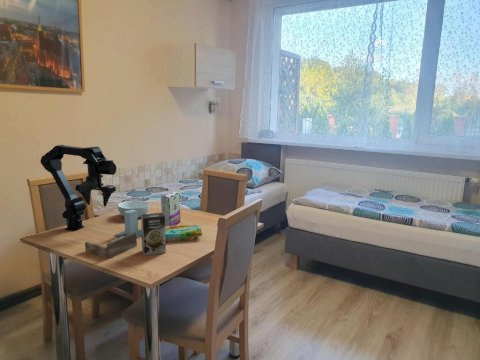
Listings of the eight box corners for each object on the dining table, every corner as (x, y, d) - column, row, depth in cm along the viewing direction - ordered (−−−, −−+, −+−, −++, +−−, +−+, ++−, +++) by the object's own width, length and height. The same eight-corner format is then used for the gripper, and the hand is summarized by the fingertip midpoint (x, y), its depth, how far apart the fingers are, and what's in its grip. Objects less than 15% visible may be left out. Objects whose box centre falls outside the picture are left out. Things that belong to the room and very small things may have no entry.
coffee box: (144, 256, 146) (142, 218, 142) (141, 250, 152) (140, 214, 148) (166, 252, 149) (165, 216, 146) (163, 247, 155) (162, 211, 152)
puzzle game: (157, 225, 170) (199, 223, 174) (158, 234, 171) (199, 232, 175) (157, 233, 159) (202, 231, 163) (157, 243, 160) (202, 240, 164)
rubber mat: (114, 236, 168) (114, 234, 167) (131, 229, 177) (131, 228, 177) (132, 240, 163) (132, 239, 162) (148, 233, 172) (148, 231, 172)
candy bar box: (172, 220, 191) (171, 191, 188) (180, 222, 189) (180, 192, 186) (161, 227, 180) (160, 196, 177) (170, 228, 179) (169, 197, 176)
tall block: (125, 234, 168) (124, 212, 166) (132, 231, 173) (131, 209, 170) (130, 235, 167) (129, 213, 164) (138, 232, 171) (137, 210, 169)
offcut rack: (85, 251, 149) (84, 238, 148) (113, 240, 162) (112, 227, 161) (109, 258, 143) (108, 244, 142) (136, 246, 156) (136, 233, 155)
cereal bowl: (145, 221, 190) (144, 208, 188) (114, 220, 190) (113, 208, 188) (153, 212, 206) (152, 200, 205) (124, 211, 206) (124, 199, 205)
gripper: (65, 175, 163) (68, 208, 166) (100, 178, 158) (102, 211, 161) (82, 171, 173) (84, 202, 176) (115, 173, 168) (117, 205, 171)
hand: (96, 205), depth 171 cm, fingers open, 9 cm apart
